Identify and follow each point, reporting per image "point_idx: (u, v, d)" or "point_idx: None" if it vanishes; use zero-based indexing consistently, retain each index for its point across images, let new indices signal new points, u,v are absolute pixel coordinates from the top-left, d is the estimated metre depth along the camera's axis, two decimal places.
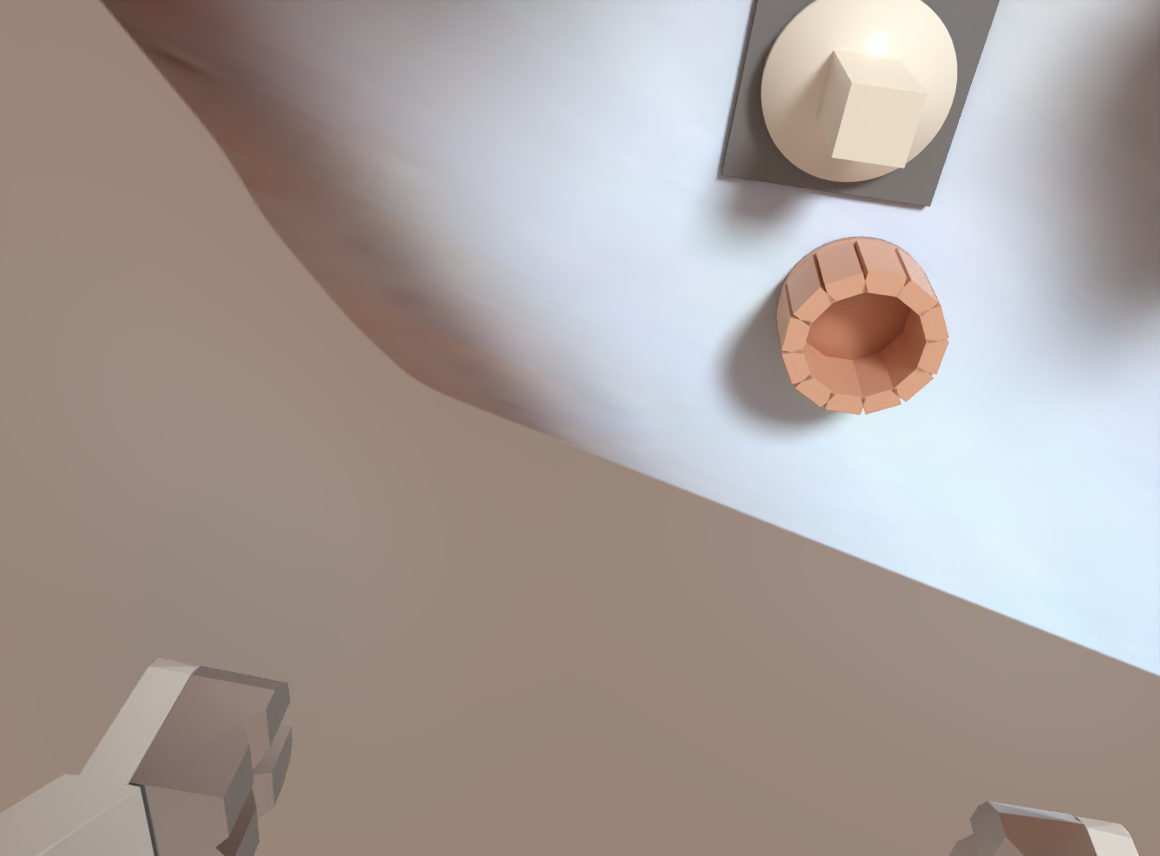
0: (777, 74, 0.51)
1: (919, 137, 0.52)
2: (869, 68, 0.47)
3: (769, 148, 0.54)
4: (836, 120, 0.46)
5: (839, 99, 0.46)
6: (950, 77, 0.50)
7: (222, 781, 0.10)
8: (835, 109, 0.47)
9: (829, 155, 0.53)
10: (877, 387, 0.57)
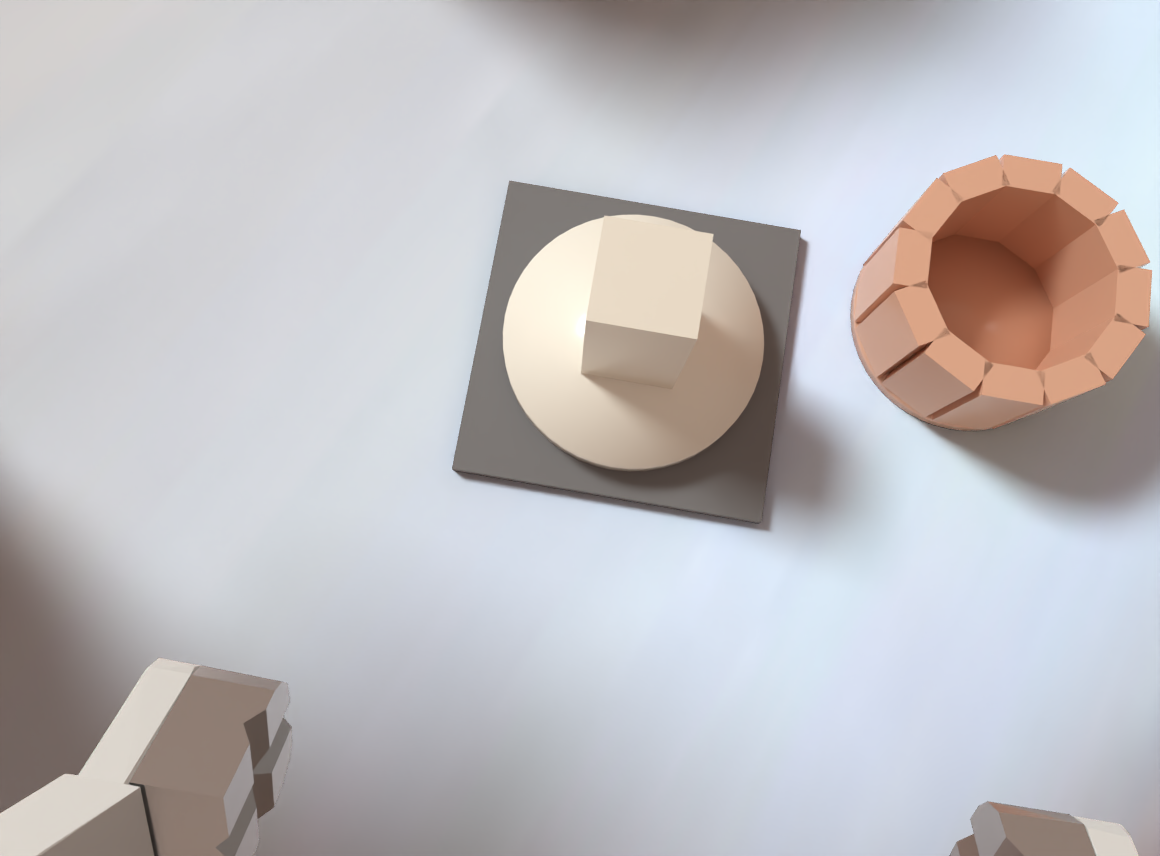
0: (611, 446, 0.36)
1: None
2: None
3: (720, 454, 0.37)
4: (648, 342, 0.31)
5: (620, 343, 0.31)
6: None
7: (222, 781, 0.10)
8: (637, 348, 0.32)
9: (725, 367, 0.37)
10: (1097, 251, 0.35)
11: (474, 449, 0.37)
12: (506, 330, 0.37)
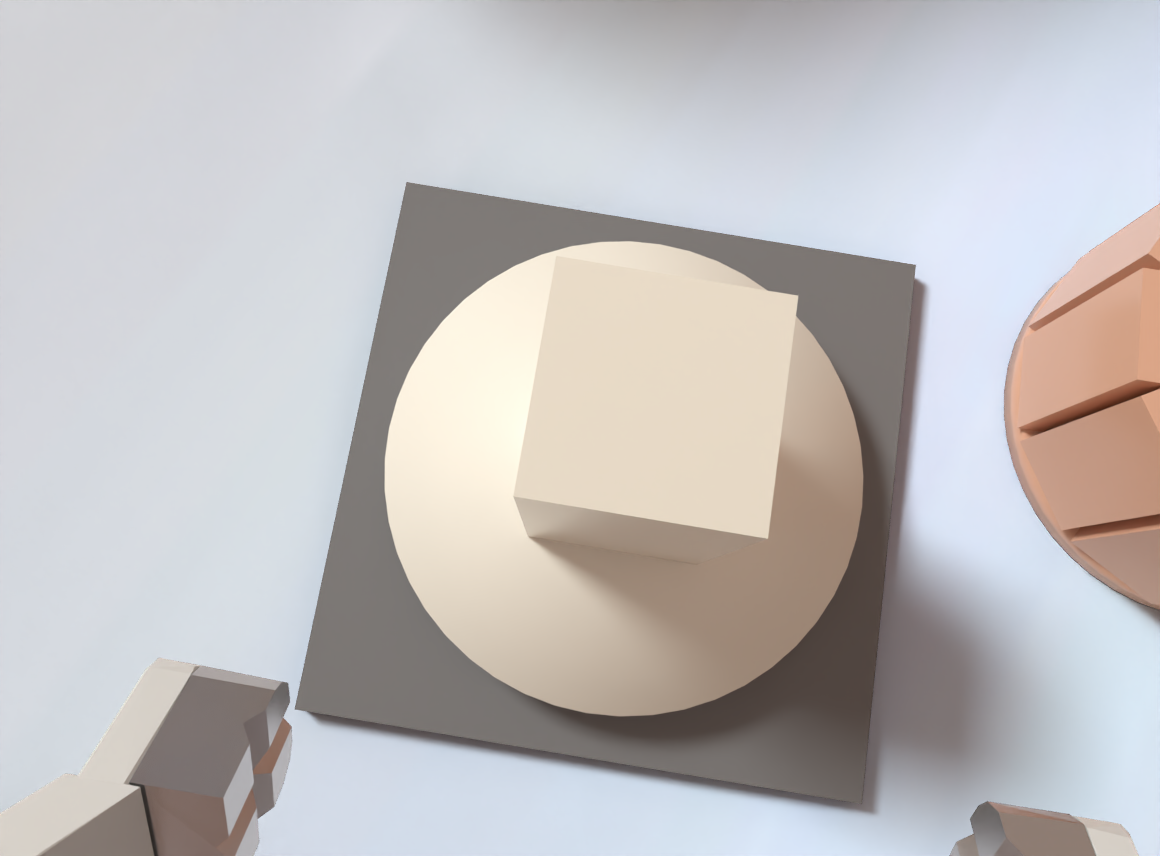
0: (584, 676, 0.19)
1: None
2: None
3: (784, 675, 0.20)
4: (654, 529, 0.14)
5: (596, 524, 0.15)
6: (599, 256, 0.21)
7: (222, 781, 0.10)
8: (631, 532, 0.15)
9: (793, 522, 0.20)
10: None
11: (336, 672, 0.20)
12: (391, 456, 0.20)
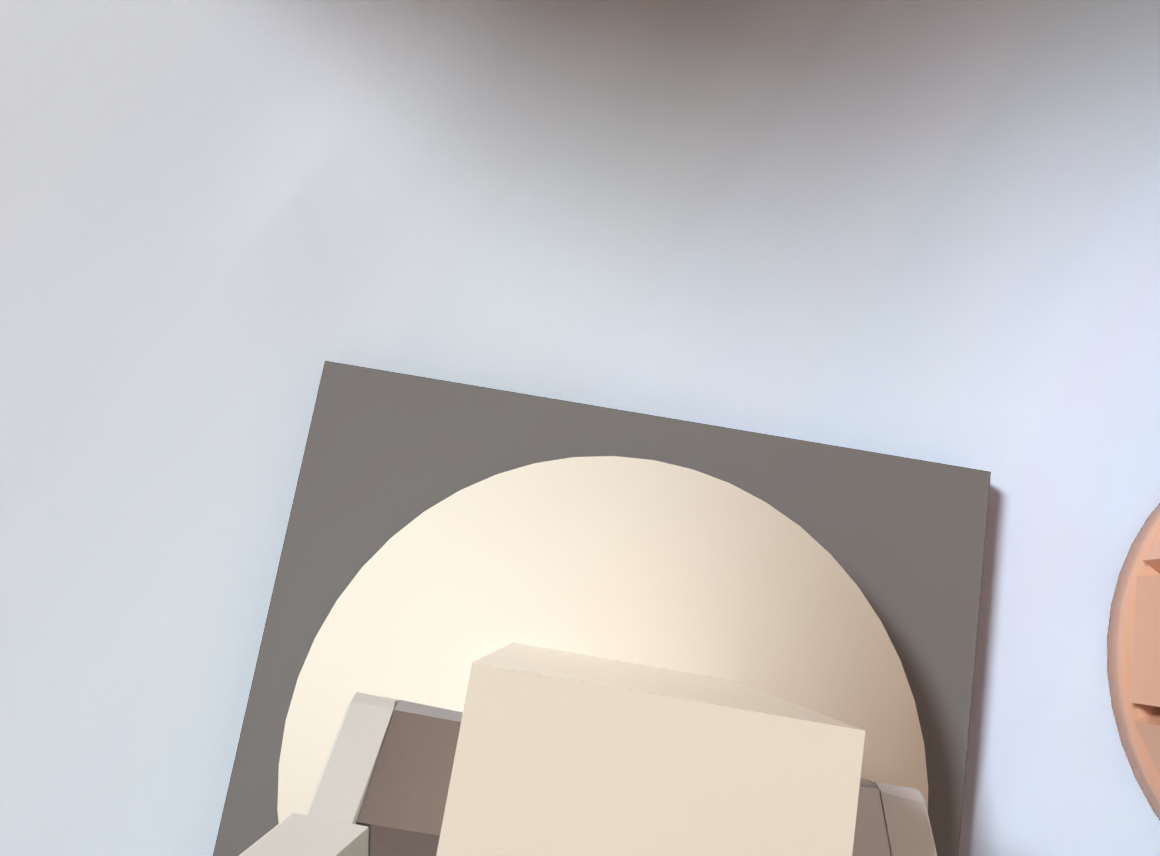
0: None
1: (763, 548, 0.15)
2: None
3: None
4: None
5: None
6: (572, 477, 0.16)
7: None
8: None
9: None
10: None
11: None
12: (288, 760, 0.15)
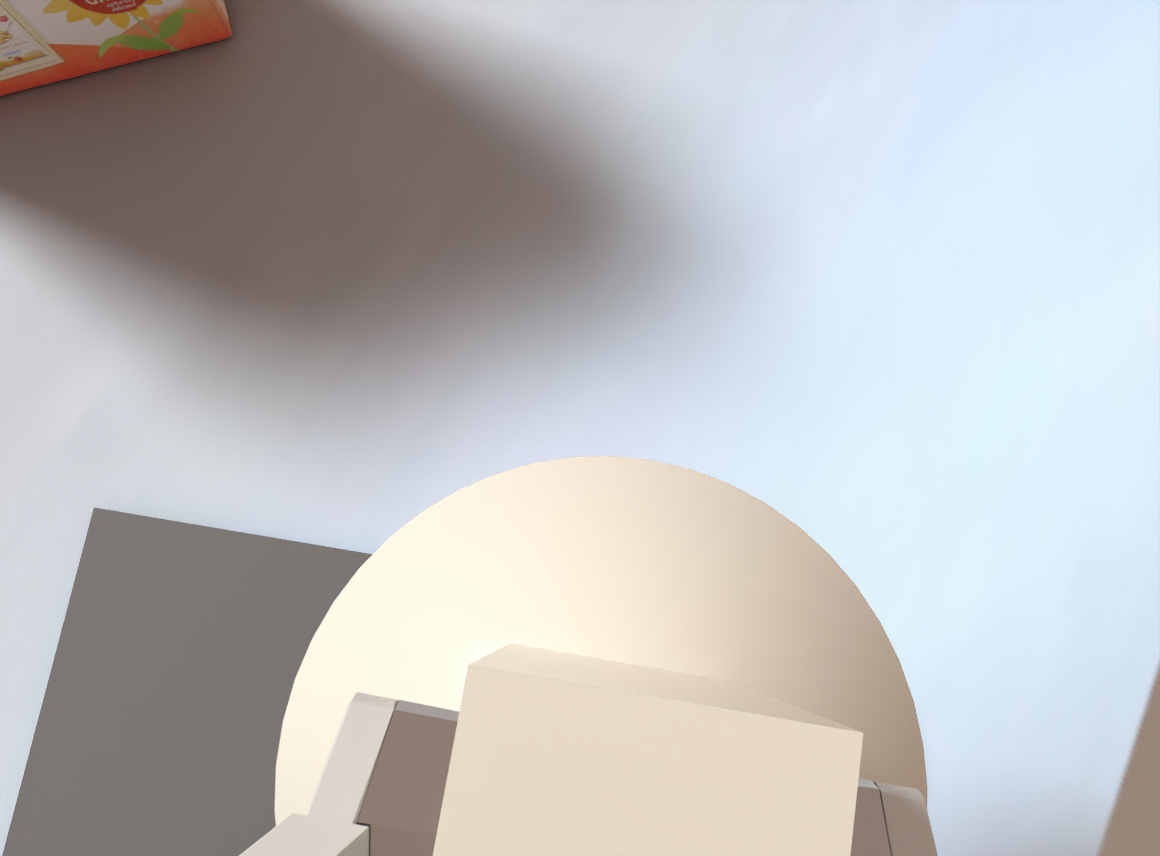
0: None
1: (761, 548, 0.15)
2: None
3: None
4: None
5: None
6: (570, 478, 0.16)
7: None
8: None
9: None
10: None
11: (26, 849, 0.31)
12: (285, 761, 0.15)
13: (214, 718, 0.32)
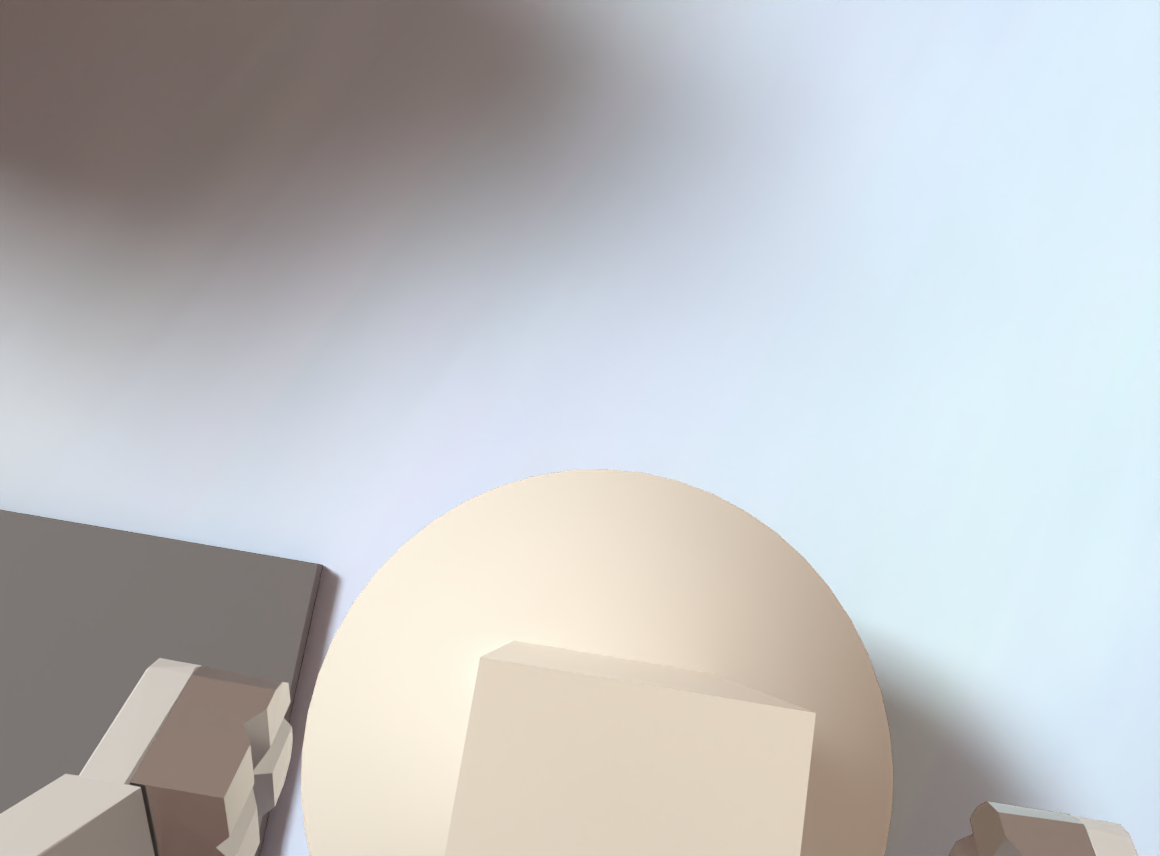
0: None
1: (742, 553, 0.17)
2: None
3: None
4: None
5: None
6: (567, 489, 0.17)
7: (222, 781, 0.10)
8: None
9: (807, 832, 0.16)
10: None
11: None
12: (310, 748, 0.16)
13: None
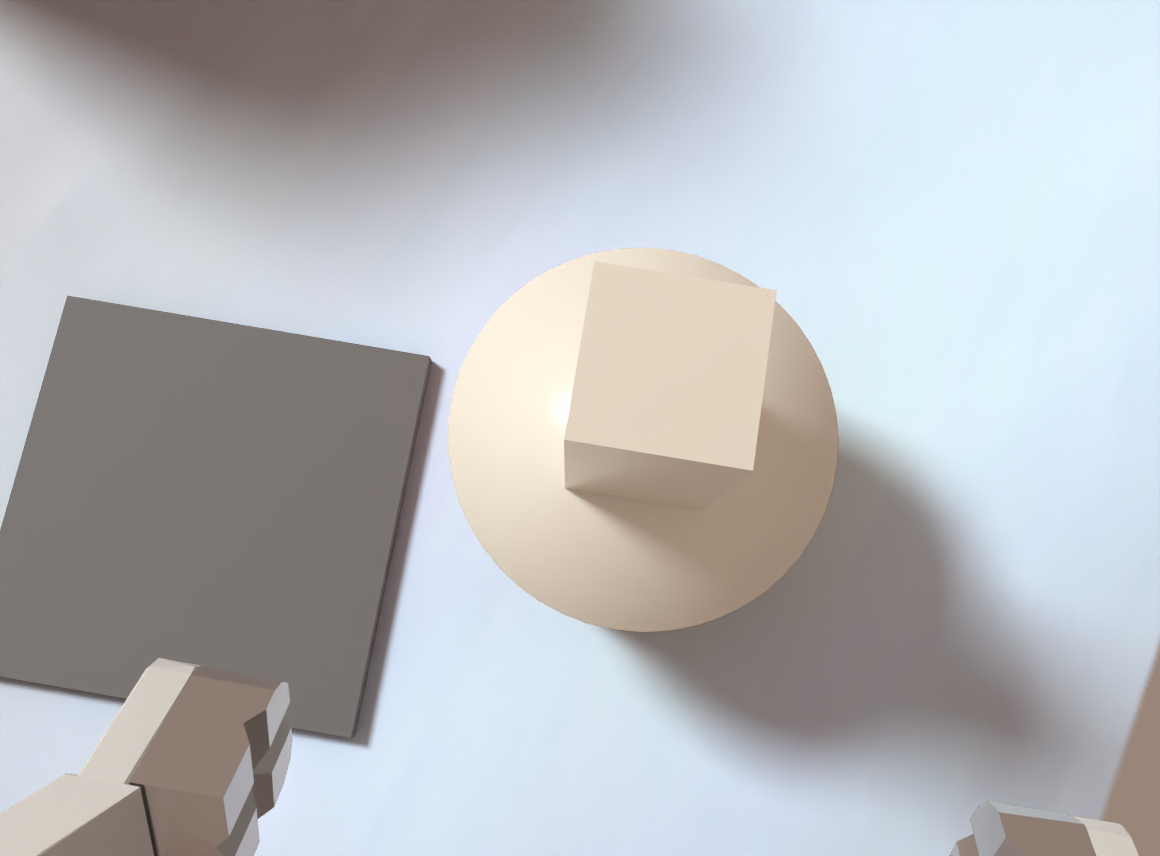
0: (611, 600, 0.24)
1: None
2: None
3: (305, 648, 0.29)
4: (668, 468, 0.19)
5: (624, 466, 0.19)
6: (621, 260, 0.25)
7: (222, 781, 0.10)
8: (650, 473, 0.20)
9: (781, 476, 0.24)
10: None
11: None
12: (453, 423, 0.25)
13: (191, 511, 0.30)
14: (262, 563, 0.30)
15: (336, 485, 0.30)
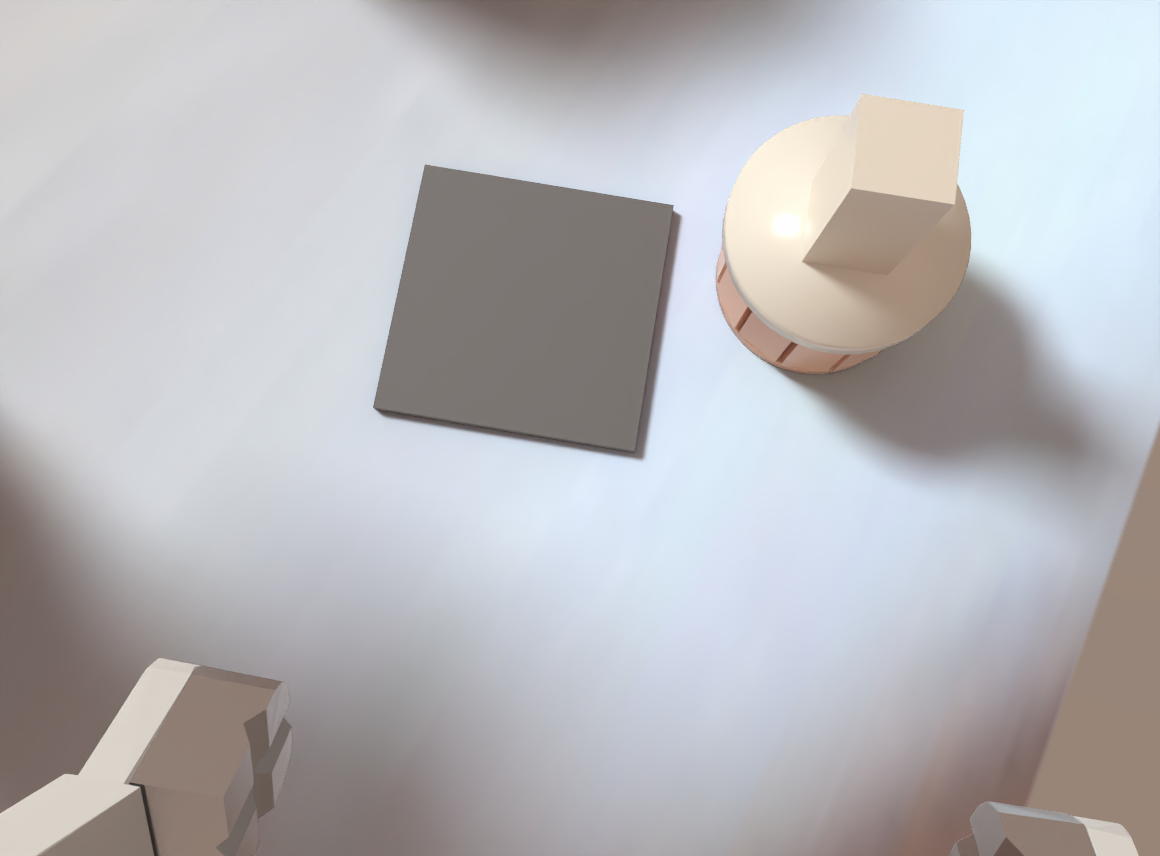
0: (833, 328, 0.38)
1: None
2: (826, 196, 0.36)
3: (601, 394, 0.44)
4: (899, 212, 0.33)
5: (870, 216, 0.34)
6: (830, 123, 0.40)
7: (222, 781, 0.10)
8: (883, 222, 0.34)
9: (936, 254, 0.39)
10: None
11: (392, 391, 0.44)
12: (730, 222, 0.39)
13: (519, 306, 0.45)
14: (569, 339, 0.44)
15: (616, 290, 0.45)
